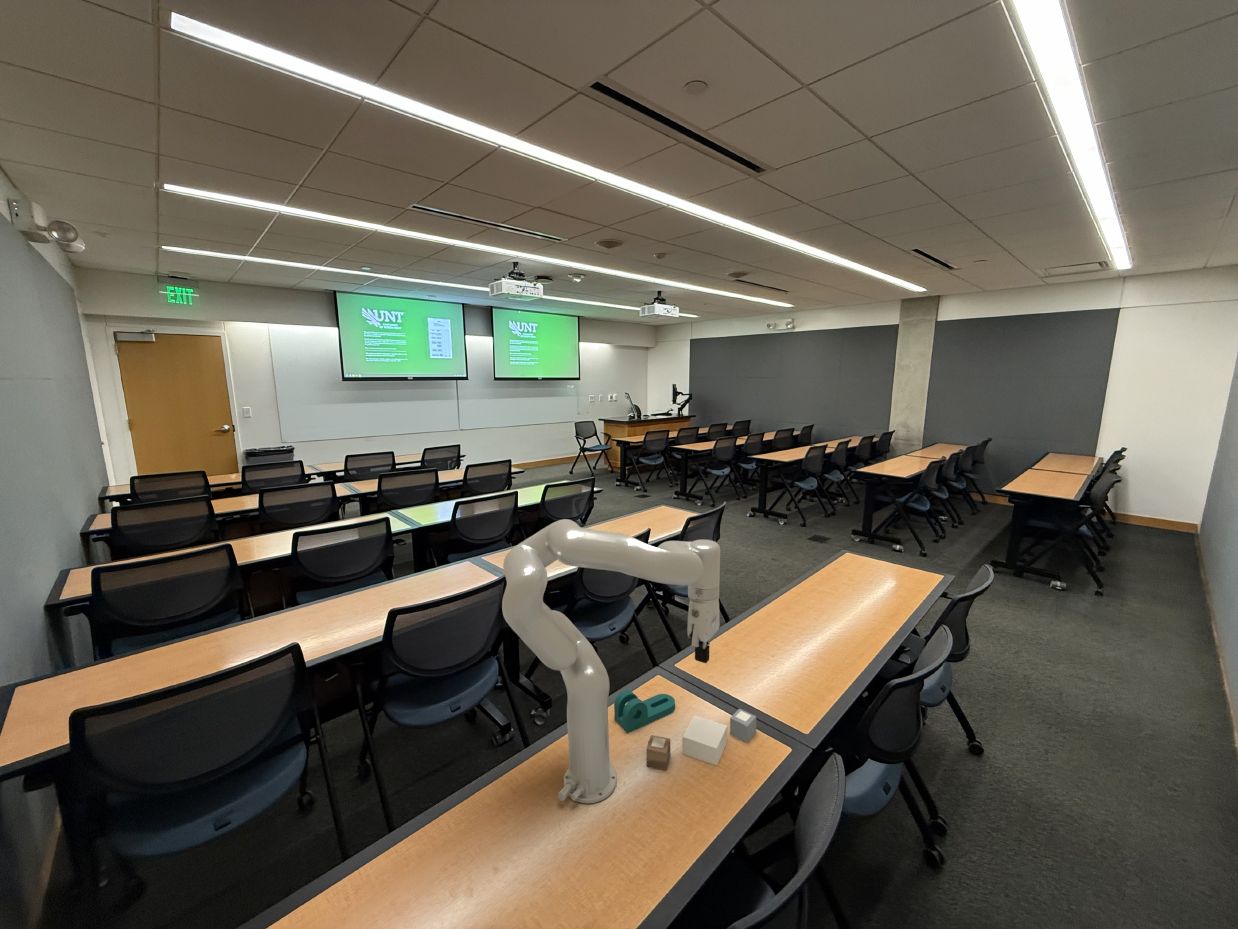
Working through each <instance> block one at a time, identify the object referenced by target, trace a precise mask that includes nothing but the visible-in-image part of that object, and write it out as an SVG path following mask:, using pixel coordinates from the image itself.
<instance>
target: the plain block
mask: <svg viewBox="0 0 1238 929" xmlns="http://www.w3.org/2000/svg"><path fill="white" fill-rule="evenodd" d="M681 743H682V744H681V747H682V752H681V753H682V754H683V755H686V756H689V757H691V758H694V759H696V760H700V761H702V762H705V763H708V764H711V765H714V766H717V765H718V763H719V761H720V760H721V758H722V754H723V752H724V750H725V748H726V747H727V744H728V725H726V724H725V723H724V724H723V723H720V722H716V721H713V720H710V719H707V718H704V717H701V716H698V715H695V714H694V715H693V717H692V718H691V721H690V722H689V724H688V726H687V727H686V730H685V732H683V734H682V736H681Z"/></svg>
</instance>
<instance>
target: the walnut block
mask: <svg viewBox="0 0 1238 929" xmlns="http://www.w3.org/2000/svg"><path fill="white" fill-rule="evenodd" d="M671 750H672V749H671V738H670V737H665V736H664V737H663V736H660V735H654V734H651V735H650V736H649V740H648V743H647V745H646V750H645V751H646V767H647V768H652V769H656V770H661V771H665V772H667V770H668V768H669V764H670V760H671Z"/></svg>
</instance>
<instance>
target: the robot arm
mask: <svg viewBox="0 0 1238 929" xmlns="http://www.w3.org/2000/svg"><path fill="white" fill-rule="evenodd" d="M556 561H559V562H560V563H561V564H564V565H565V566H570V567H577V568H585V569H592V570H593V569H595V570H602V571H603V570H605V571H612V572H618V573H622V574H625V575H628V576H630V577H631V576H633V577H636V578H639V579H642V580H647V581H651V582H654V583H658V584H659V583H660V584H665V585H671V586H674V585H675V586H687V595H688V596H687V597H688V599H689V603H688V604H689V605H688V614H687V637H688V638H689V639H692V640H691V647H694V660H695V661H697V662H700V663H703V664H707V663H708V662H709V661H710V644H711V638H712V637H713V636H714V635H715V634H716V633H717V632H718V631H719V629H720V626H721V625H720V601H719V599H720V577H721V575H720V574H721V573H720V572H721V570H720V569H721V547H720V544H719V543H717V542H716V541H715V540H712V539H696V540H692V541H685V540H684V541H682V540H669V541H668V540H666V541H664V542H662V543H660V544H659V545H658V546H657V547H656V546H653V545H650V544H648V543H646V542H644V541H641V540H640V539H637V538H635V537H633V536H631V535H628V534H624V533H620V532H613V531H605V530H598V529H594V528H593V529H591V528H585V527H581V526H580V525H579V524H578V523H577V522H576V521H573V520H572V519H568V518H567V519H566V518H563V519H559V520H557V521H554V522H552V523H550V524H549V525H547V526H545V527H544V528H542V529H540V530H539V531H537V532H536V533H534V534H533V535H531V536H529V537H527V538H526V539H524V540H523V541H521V542H519V543H518V544H517V545H516V546H514V547H513V548H511V549H510V550H509V551H508V553H506V556H505V558H504V560H503V566H502V567H503V573H504V576H505V580H506V586H505V590H504V593H503V595H502V602H501V609H502V610H501V611H502V615H503V619H504V620H505V622H506V623H507V625H508V626H509V627H510V628H511V630H512V631H513V632H514V633H515V634H517V636H518V637H519V638H520V639H521V640H522V641H523V643H524V644H525V645H526V646H527V647H528V648H529V649H530V650H531V651H532V652H533V653H534V655H536V656H537V658H538V659H539V661H540V662H542V664H544V666H546V667H547V668H549V669H551V670H553V671H559V672H560V674H561V676H562V680H563V682H564V685H565V689H566V693H567V694H566V695H567V702H566V703H567V704H566V722H567V723H566V726H567V742H568V745H567V746H568V760H569V762H568V764H569V767H568V768H567V770H566V771H565V773H564V775H563V776H564V777H563V788H561V790H560V791H559V792H558V793H557V797H558V799H559V800H560V801H561V802H564V801H565V800H566V799H567V798H568V797H569V798H571V800H572V801H574V802H575V801H576V802H577V803H580V804H581V803H582V804H594V803H599V802H600V801H604V800H605V799H607V798H608V797H609V796H610V795H611V794H612V793H613V792H614V790H615V789H616V786H617V782H618V781H617V780H618V778H617V772H616V769H615V767H614V766H613V765H612V764H611V763H610V734H609V732H610V730H609V712H608V711H609V709H608V708H609V694H610V689H611V688H610V685H611V684H610V678H609V675H608V672H607V669H606V668H605V665H604V664H603V662H602V660H601V659H600V657H599V655H598V654H597V652H596V651H595V650H596V649H594V647H593V645H592V644H591V643H590V642H589V640H588V639H587V638H586V637H585V636H584V635H583V634H582V632H581V631H580V630H579V629H578V628H577V627H576V626H575V624H573V622H572V621H571V620H570V619H569V618H568V617H567V616H566V615H565V614H564V613H562V612H561V611H558V610H553V609H551V608H550V607H549V606H548V605H547V604H546V603H545V602H544V593H545V591H546V588H547V584H548V572H547V569H546V568H547V567H549V566H550V565H552V564H553V563H554V562H556Z"/></svg>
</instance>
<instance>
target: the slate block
mask: <svg viewBox="0 0 1238 929" xmlns="http://www.w3.org/2000/svg"><path fill="white" fill-rule="evenodd" d="M729 734H730V736H732V737H734V738H736V739H738V740H739V741H742V742H744V743H746V744H748V743H749V742H750V740H752V738H753V737H754V736H755V735H756V734H757V716H756V715H755V714H752V713H750V712H748V711H746V710H743V709H741V708H738V709H737V710H736V711H735V713H733V714H732V715H731V716H730V717H729Z"/></svg>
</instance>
